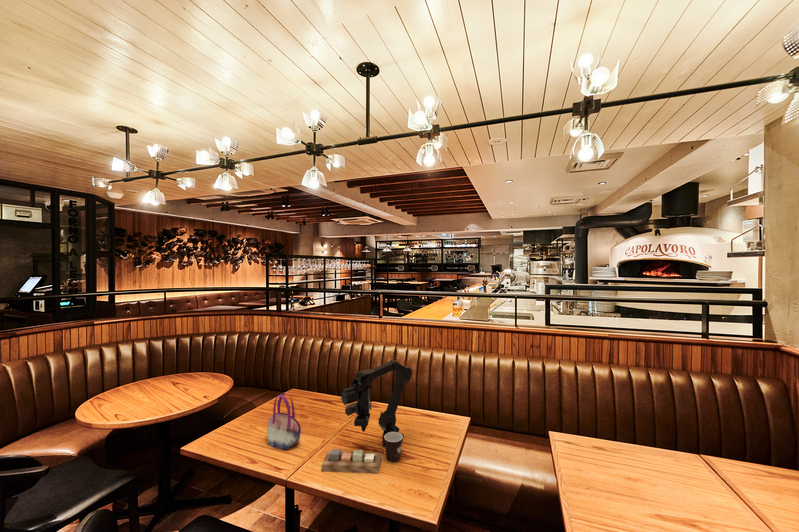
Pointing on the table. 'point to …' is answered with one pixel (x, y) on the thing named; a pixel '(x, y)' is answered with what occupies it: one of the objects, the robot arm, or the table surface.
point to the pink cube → (346, 457)
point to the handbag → (283, 426)
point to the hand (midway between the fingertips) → (363, 431)
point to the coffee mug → (393, 446)
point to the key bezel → (352, 464)
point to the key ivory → (369, 458)
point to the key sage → (358, 456)
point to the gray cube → (335, 455)
